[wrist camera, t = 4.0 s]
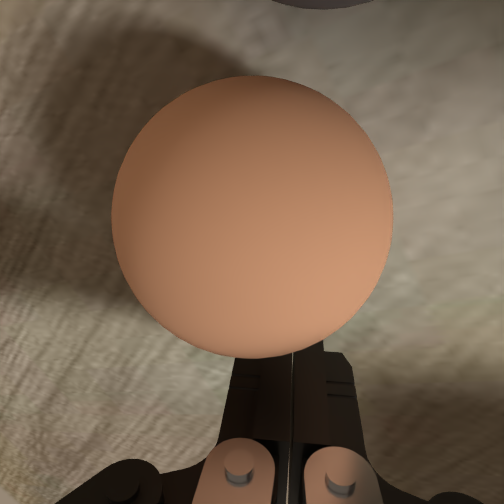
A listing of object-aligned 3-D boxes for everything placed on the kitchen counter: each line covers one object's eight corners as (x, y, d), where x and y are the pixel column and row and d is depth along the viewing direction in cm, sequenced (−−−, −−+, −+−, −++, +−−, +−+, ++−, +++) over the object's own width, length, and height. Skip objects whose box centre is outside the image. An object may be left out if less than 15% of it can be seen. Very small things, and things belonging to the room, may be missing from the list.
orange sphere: (359, 375, 10) (343, 181, 12) (483, 329, 5) (420, 10, 7) (131, 371, 10) (154, 174, 12) (25, 318, 5) (97, -5, 7)
